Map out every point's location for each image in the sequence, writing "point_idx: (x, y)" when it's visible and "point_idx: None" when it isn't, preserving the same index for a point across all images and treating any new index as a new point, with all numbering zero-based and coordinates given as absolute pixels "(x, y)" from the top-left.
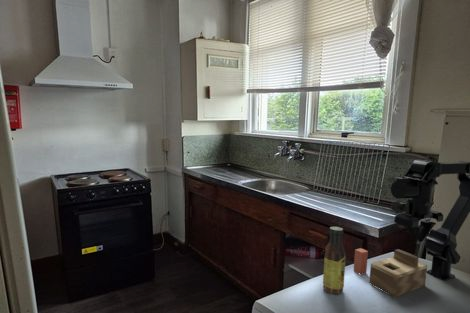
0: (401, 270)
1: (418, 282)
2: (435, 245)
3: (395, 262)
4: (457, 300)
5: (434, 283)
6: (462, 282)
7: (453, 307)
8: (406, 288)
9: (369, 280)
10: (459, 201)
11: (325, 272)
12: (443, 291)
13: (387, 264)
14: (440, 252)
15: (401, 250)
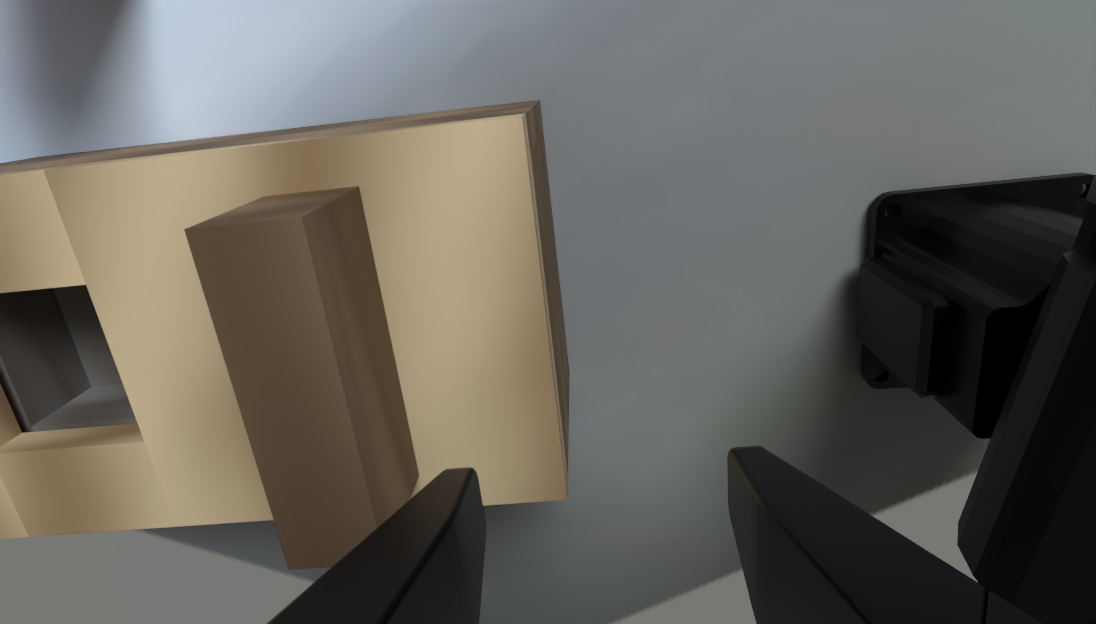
0: (99, 486)
1: None
2: (1071, 518)
3: (185, 306)
4: (600, 585)
5: (703, 373)
6: (985, 448)
7: None
8: None
9: (9, 162)
10: None
11: None
12: (633, 481)
13: (56, 283)
14: (968, 550)
15: (312, 290)
